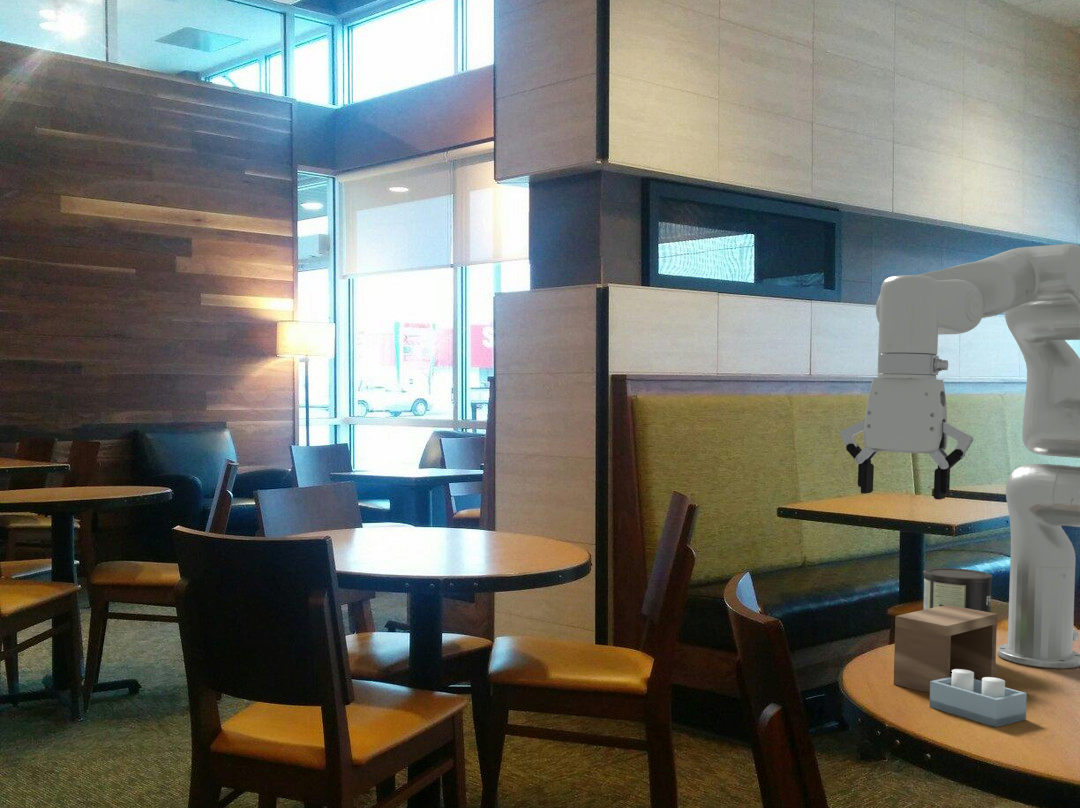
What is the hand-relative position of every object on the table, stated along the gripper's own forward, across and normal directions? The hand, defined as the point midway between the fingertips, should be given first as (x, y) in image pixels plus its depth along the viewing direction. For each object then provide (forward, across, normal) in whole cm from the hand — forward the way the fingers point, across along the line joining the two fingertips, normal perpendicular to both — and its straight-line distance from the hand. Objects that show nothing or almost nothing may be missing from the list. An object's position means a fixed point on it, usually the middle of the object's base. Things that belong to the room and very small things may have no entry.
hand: (902, 495), depth 144 cm
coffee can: (+28, 0, -34) cm, 44 cm away
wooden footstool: (+28, -2, -19) cm, 34 cm away
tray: (+29, -9, -6) cm, 31 cm away
